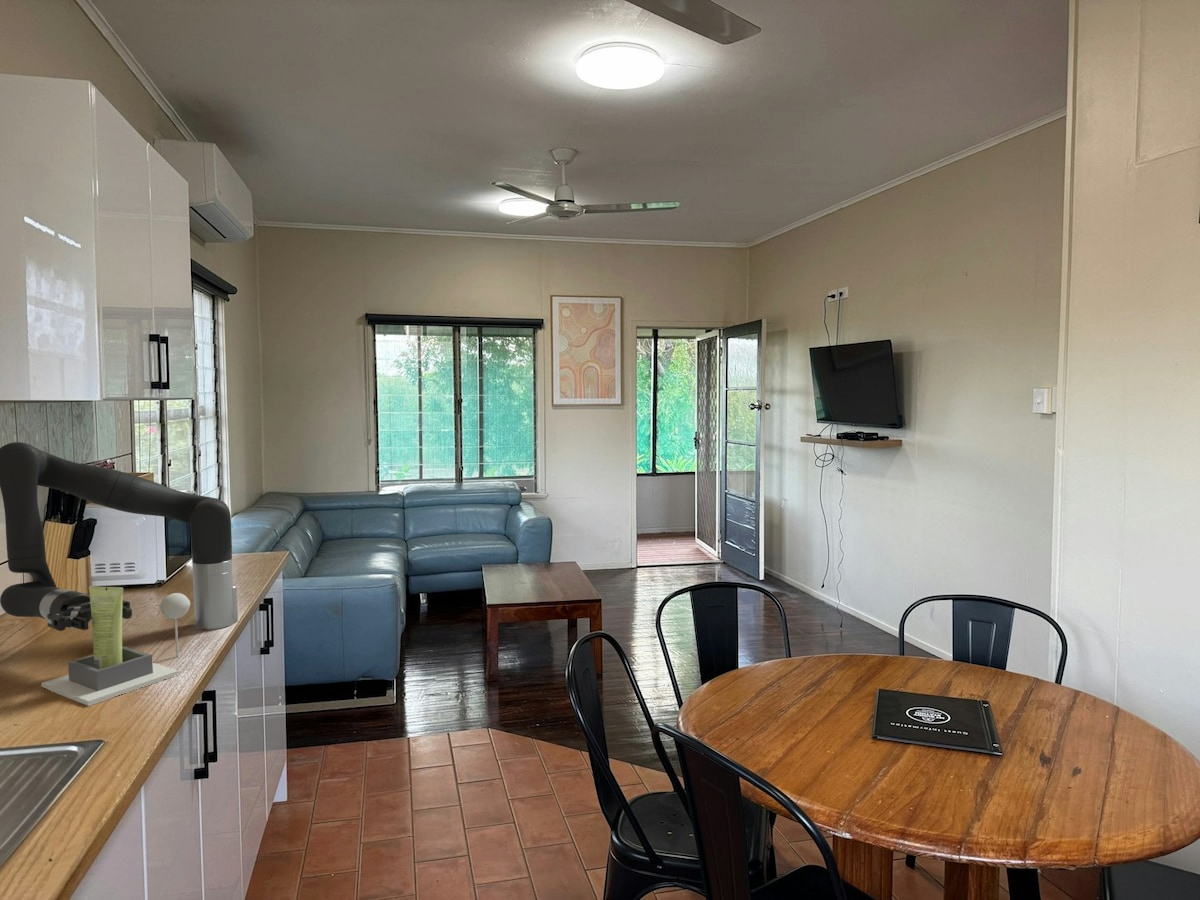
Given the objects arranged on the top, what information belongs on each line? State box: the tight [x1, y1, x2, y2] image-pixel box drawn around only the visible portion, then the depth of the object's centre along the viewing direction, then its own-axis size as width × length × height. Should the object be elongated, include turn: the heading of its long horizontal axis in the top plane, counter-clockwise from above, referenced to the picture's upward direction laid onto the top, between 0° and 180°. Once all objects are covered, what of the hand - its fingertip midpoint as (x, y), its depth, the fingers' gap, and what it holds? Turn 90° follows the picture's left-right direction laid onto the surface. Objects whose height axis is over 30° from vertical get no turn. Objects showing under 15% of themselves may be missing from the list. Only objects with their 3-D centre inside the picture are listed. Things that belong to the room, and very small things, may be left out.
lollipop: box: [159, 592, 191, 657], centre depth 171 cm, size 6×6×15 cm
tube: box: [88, 585, 124, 669], centre depth 156 cm, size 6×5×20 cm
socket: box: [41, 645, 180, 707], centre depth 157 cm, size 18×18×5 cm
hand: (108, 619), depth 156 cm, fingers open, 8 cm apart
